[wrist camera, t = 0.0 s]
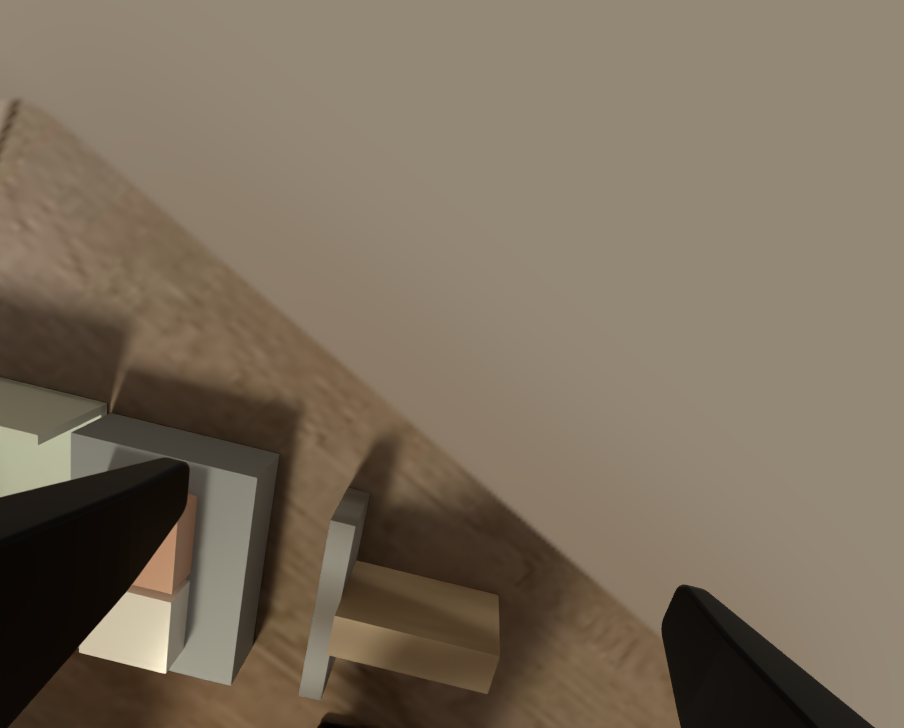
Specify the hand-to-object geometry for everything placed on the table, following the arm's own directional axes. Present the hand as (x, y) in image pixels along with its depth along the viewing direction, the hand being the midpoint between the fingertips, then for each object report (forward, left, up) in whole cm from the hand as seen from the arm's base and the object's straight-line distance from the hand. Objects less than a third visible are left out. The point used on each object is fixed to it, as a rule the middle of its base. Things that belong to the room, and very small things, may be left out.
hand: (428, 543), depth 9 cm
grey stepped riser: (-14, +12, -15) cm, 24 cm away
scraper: (-14, -1, -15) cm, 21 cm away
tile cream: (-17, +13, -12) cm, 25 cm away
